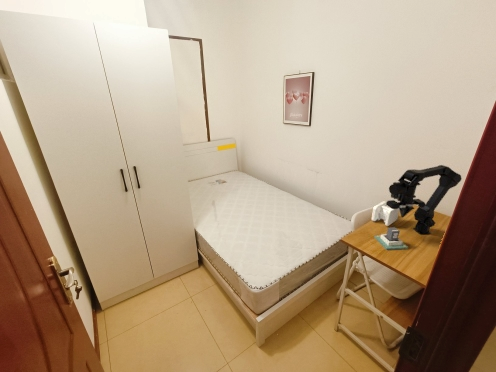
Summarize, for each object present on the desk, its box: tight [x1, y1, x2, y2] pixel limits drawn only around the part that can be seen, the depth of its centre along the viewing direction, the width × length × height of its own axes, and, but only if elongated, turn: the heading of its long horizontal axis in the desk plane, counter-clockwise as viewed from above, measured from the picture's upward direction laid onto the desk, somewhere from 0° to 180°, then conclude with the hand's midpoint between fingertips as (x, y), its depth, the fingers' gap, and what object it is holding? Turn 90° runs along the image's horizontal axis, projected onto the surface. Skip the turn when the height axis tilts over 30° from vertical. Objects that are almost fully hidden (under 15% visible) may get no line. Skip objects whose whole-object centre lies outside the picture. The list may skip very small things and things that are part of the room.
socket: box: [380, 233, 403, 246], centre depth 125 cm, size 8×8×2 cm
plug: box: [385, 226, 400, 241], centre depth 124 cm, size 4×4×8 cm
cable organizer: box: [371, 200, 400, 227], centre depth 145 cm, size 15×11×12 cm
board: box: [373, 234, 409, 251], centre depth 126 cm, size 12×12×1 cm
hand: (402, 216), depth 128 cm, fingers closed
